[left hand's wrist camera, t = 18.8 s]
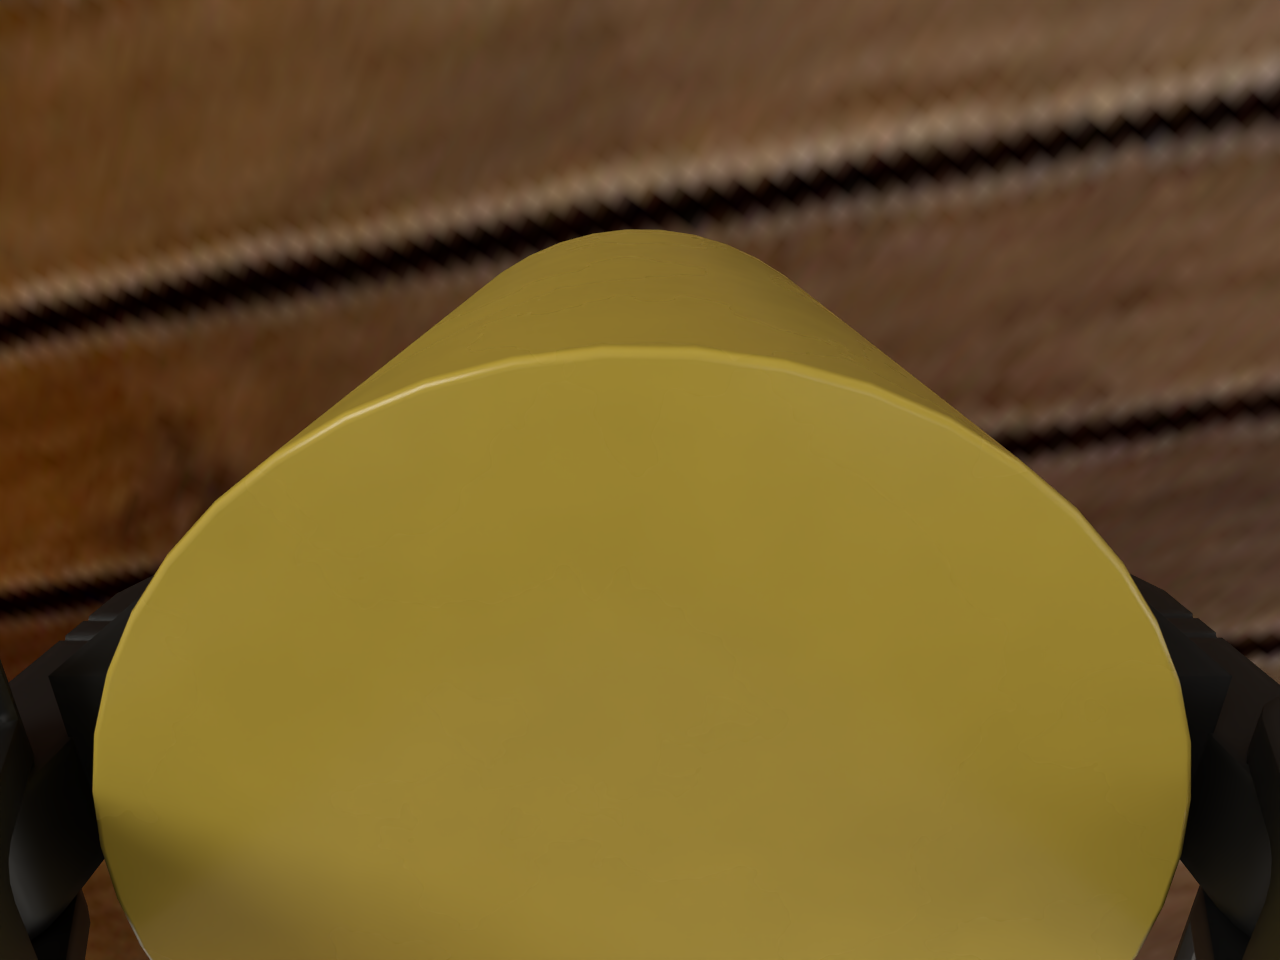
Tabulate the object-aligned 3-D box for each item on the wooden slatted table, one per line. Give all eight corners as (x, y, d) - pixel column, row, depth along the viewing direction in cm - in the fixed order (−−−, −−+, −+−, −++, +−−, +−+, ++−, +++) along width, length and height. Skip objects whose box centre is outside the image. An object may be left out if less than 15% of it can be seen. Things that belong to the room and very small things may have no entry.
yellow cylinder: (915, 249, 14) (1390, 400, 5) (831, 676, 18) (1031, 1214, 9) (400, 209, 14) (-35, 293, 5) (415, 650, 17) (174, 1176, 8)
